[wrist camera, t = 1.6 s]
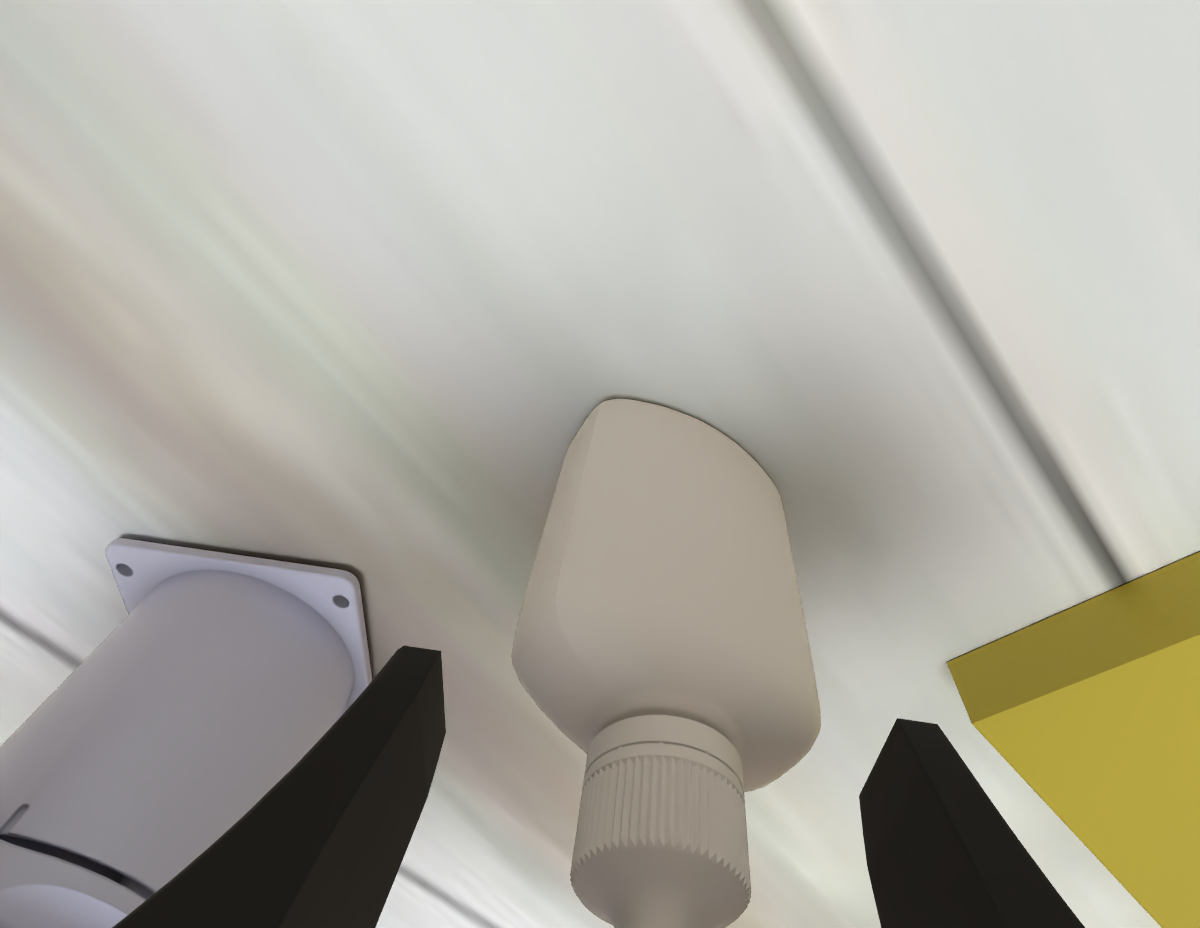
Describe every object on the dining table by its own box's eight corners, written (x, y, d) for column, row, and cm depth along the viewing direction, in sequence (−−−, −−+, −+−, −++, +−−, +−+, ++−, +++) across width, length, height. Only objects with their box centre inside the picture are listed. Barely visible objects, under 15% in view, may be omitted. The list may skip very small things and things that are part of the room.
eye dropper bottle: (654, 572, 20) (617, 1118, 10) (547, 422, 18) (359, 931, 8) (796, 516, 18) (924, 1098, 8) (699, 345, 16) (713, 856, 6)
